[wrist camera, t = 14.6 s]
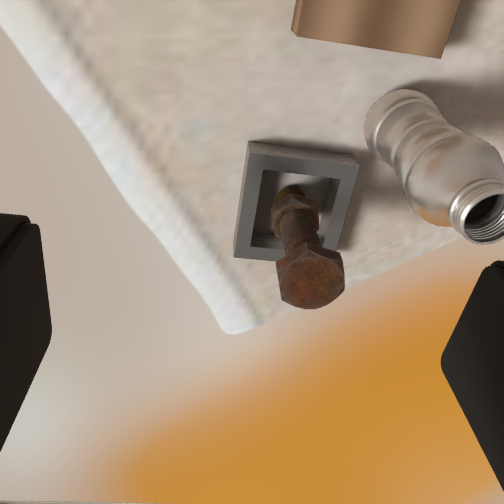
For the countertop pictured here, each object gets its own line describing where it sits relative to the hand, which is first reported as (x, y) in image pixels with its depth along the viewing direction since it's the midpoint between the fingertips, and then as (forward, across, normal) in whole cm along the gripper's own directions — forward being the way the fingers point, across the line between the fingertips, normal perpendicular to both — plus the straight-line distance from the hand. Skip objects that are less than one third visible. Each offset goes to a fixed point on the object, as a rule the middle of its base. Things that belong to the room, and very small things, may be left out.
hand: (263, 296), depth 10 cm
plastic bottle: (+36, -16, +5) cm, 40 cm away
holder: (+36, -7, +15) cm, 40 cm away
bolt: (+36, -7, +15) cm, 40 cm away
